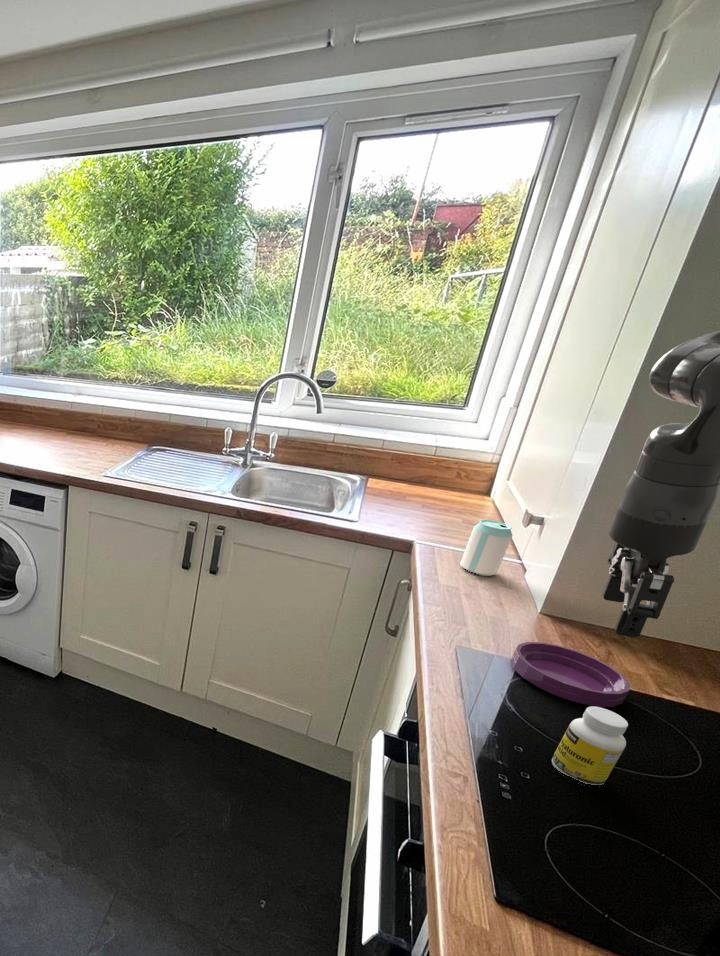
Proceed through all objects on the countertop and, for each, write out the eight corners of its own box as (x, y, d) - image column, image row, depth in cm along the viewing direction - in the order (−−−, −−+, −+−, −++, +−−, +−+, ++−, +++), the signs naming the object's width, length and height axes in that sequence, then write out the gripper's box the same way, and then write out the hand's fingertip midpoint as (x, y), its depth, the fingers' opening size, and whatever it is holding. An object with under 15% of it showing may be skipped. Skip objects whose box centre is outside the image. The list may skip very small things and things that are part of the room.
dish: (640, 698, 95) (649, 682, 94) (589, 718, 90) (598, 702, 89) (540, 650, 107) (547, 635, 106) (490, 665, 102) (497, 650, 101)
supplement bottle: (539, 759, 82) (568, 703, 78) (573, 756, 82) (603, 701, 78) (579, 790, 77) (611, 731, 73) (614, 787, 77) (648, 729, 73)
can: (469, 562, 142) (486, 516, 138) (502, 574, 136) (521, 527, 132) (453, 567, 139) (470, 520, 135) (486, 579, 133) (505, 532, 129)
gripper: (728, 540, 64) (673, 655, 72) (691, 489, 74) (646, 595, 82) (632, 530, 69) (589, 639, 76) (609, 483, 79) (573, 584, 86)
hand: (619, 616), depth 79 cm, fingers open, 8 cm apart
